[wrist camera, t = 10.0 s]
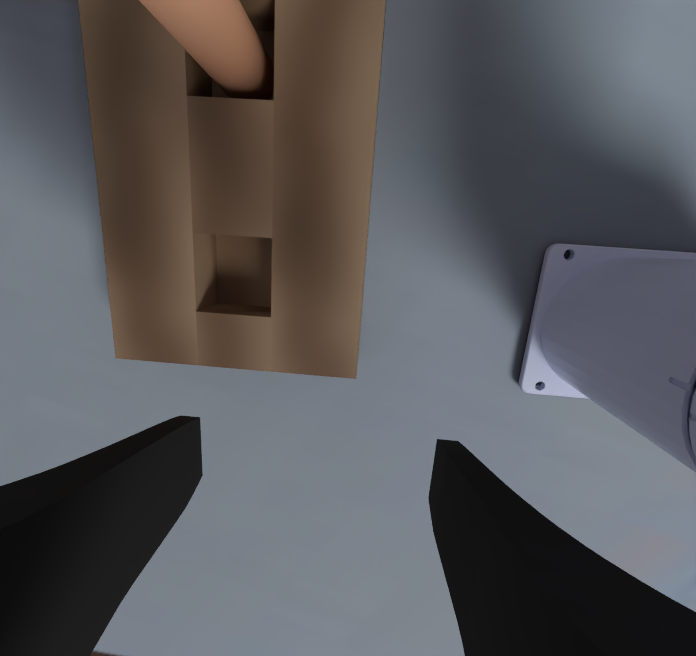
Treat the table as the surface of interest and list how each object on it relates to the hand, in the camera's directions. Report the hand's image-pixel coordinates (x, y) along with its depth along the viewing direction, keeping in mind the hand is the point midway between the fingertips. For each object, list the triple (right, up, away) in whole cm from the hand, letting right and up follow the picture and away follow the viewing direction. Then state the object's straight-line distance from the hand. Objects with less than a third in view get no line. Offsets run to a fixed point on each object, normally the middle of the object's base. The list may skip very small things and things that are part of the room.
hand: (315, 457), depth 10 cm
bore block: (-4, +11, +7) cm, 14 cm away
